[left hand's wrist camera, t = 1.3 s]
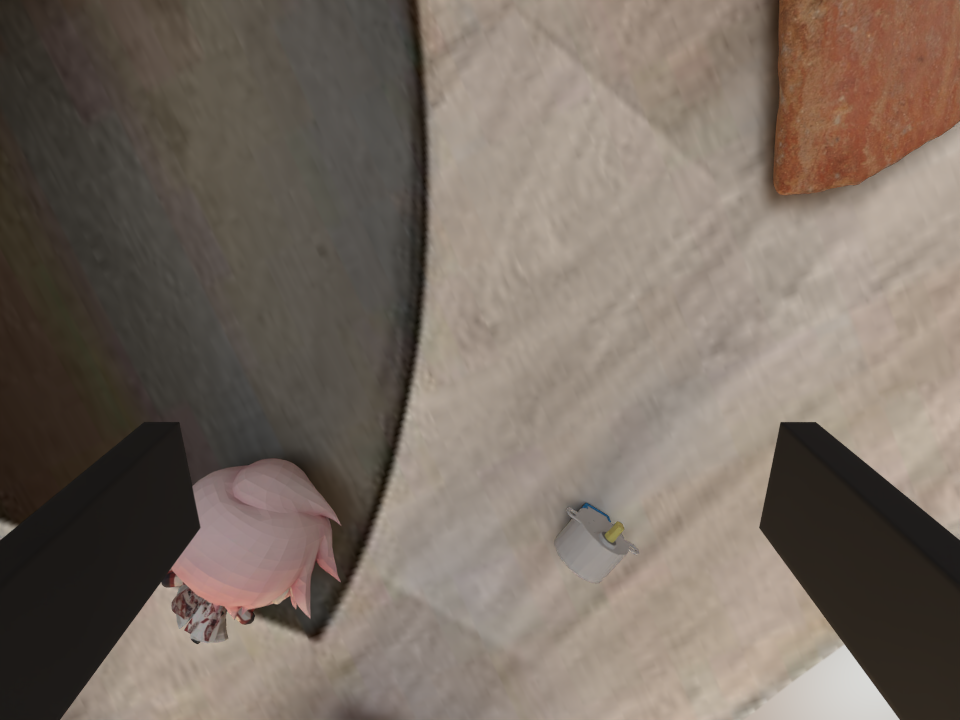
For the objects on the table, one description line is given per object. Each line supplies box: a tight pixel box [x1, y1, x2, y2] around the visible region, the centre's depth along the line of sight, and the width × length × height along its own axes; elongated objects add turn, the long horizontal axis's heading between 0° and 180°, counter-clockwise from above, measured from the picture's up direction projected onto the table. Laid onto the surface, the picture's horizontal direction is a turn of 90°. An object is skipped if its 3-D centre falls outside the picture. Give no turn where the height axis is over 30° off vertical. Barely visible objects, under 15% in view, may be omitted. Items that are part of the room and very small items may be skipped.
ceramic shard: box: [773, 0, 960, 195], centre depth 33 cm, size 15×6×15 cm
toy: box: [161, 458, 341, 644], centre depth 41 cm, size 12×11×15 cm
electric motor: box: [555, 503, 639, 583], centre depth 44 cm, size 7×5×5 cm
